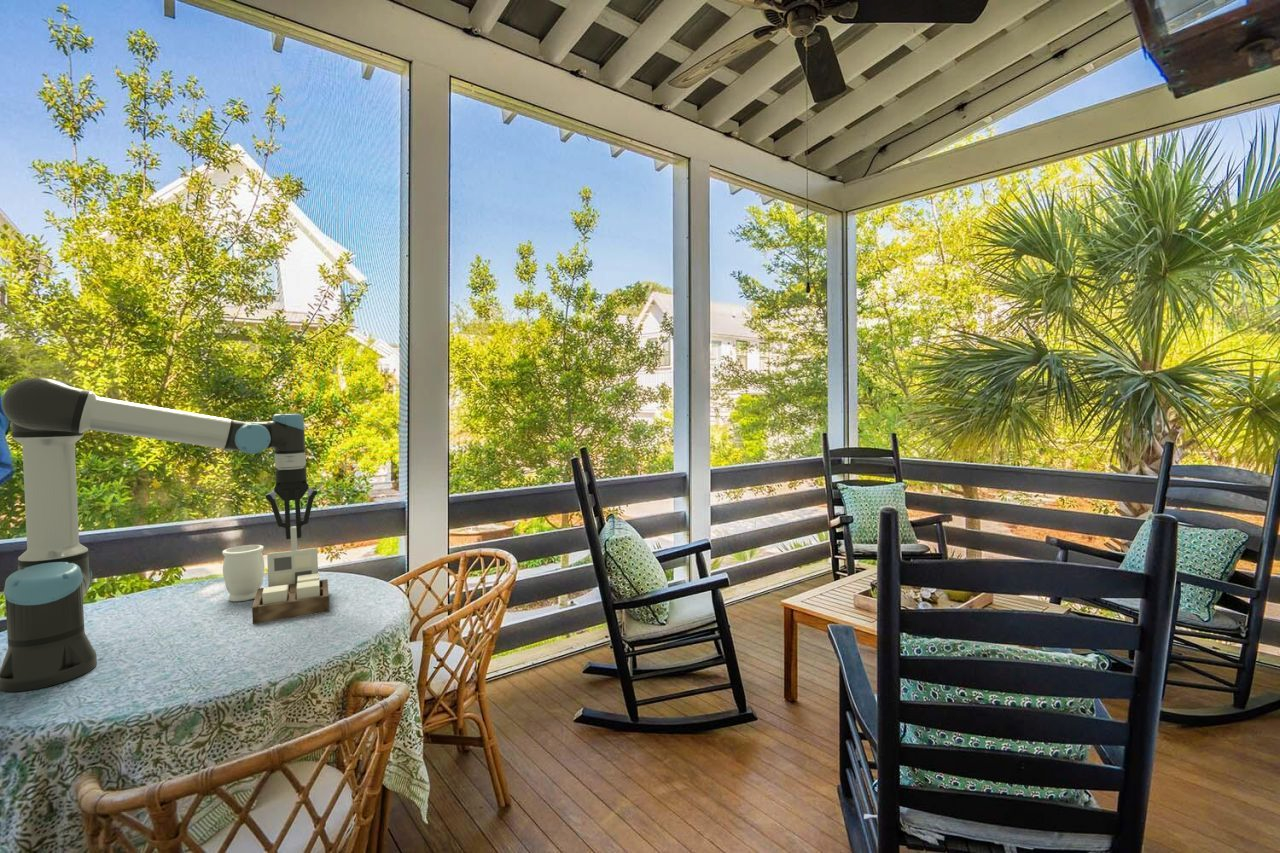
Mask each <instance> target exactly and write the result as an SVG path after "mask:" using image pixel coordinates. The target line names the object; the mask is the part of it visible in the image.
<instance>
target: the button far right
mask: <svg viewBox="0 0 1280 853" xmlns="http://www.w3.org/2000/svg"><path fill="white" fill-rule="evenodd" d="M317 580H320V572H318V573H316V574H308V575H301V576H298V578H297V583H302V582H309V581H317ZM319 586H320V585H319Z"/></svg>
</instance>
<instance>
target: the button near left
mask: <svg viewBox="0 0 1280 853" xmlns="http://www.w3.org/2000/svg"><path fill="white" fill-rule="evenodd" d="M263 588H264V589H263V593H262V599H263V604H270V603H276V602H283V601H287V600H288V592H287V585H280V586H273V587H268V586H267V587H263Z"/></svg>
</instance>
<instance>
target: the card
mask: <svg viewBox="0 0 1280 853" xmlns="http://www.w3.org/2000/svg"><path fill="white" fill-rule="evenodd" d="M266 557H267V558H266V559H267V583H268V586H267V587H273V586H280V585H287V584H296V583H297V578H298V576H301V575H308V574H316V573H319V566H318V564H319V561H318V558H319V557H318V547H311V548H304V549H297V550H296V551H291V550H287V551H278V552H276V551H274V552H268V553H267V554H266Z"/></svg>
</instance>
